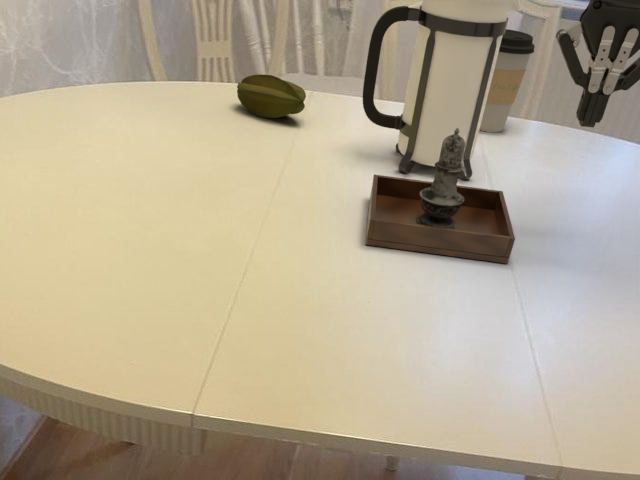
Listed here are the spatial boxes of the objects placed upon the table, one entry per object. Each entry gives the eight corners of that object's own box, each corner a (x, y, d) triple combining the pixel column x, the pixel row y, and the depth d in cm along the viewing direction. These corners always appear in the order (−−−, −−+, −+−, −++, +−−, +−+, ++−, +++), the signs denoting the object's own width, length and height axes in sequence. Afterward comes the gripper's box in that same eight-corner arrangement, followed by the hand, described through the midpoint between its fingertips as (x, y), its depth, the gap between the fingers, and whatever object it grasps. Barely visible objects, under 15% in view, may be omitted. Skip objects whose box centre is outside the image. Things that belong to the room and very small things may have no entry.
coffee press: (427, 142, 129) (471, -75, 109) (497, 174, 120) (560, -56, 100) (350, 155, 120) (382, -76, 100) (420, 191, 111) (471, -56, 91)
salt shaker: (464, 221, 102) (487, 128, 94) (448, 236, 98) (472, 139, 90) (424, 210, 104) (443, 117, 96) (407, 223, 100) (426, 127, 92)
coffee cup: (492, 138, 133) (517, 42, 123) (450, 123, 138) (471, 29, 128) (522, 130, 138) (548, 38, 128) (480, 116, 143) (502, 25, 133)
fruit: (298, 107, 137) (302, 67, 133) (304, 129, 128) (308, 86, 124) (235, 103, 136) (237, 62, 132) (237, 124, 127) (238, 81, 123)
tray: (496, 214, 107) (502, 191, 105) (507, 263, 95) (515, 238, 93) (370, 197, 107) (373, 174, 105) (365, 244, 96) (370, 219, 93)
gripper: (585, -51, 77) (534, 128, 88) (717, -38, 76) (649, 141, 88) (573, -60, 82) (527, 110, 94) (696, -48, 82) (634, 122, 93)
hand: (586, 125), depth 91 cm, fingers closed
